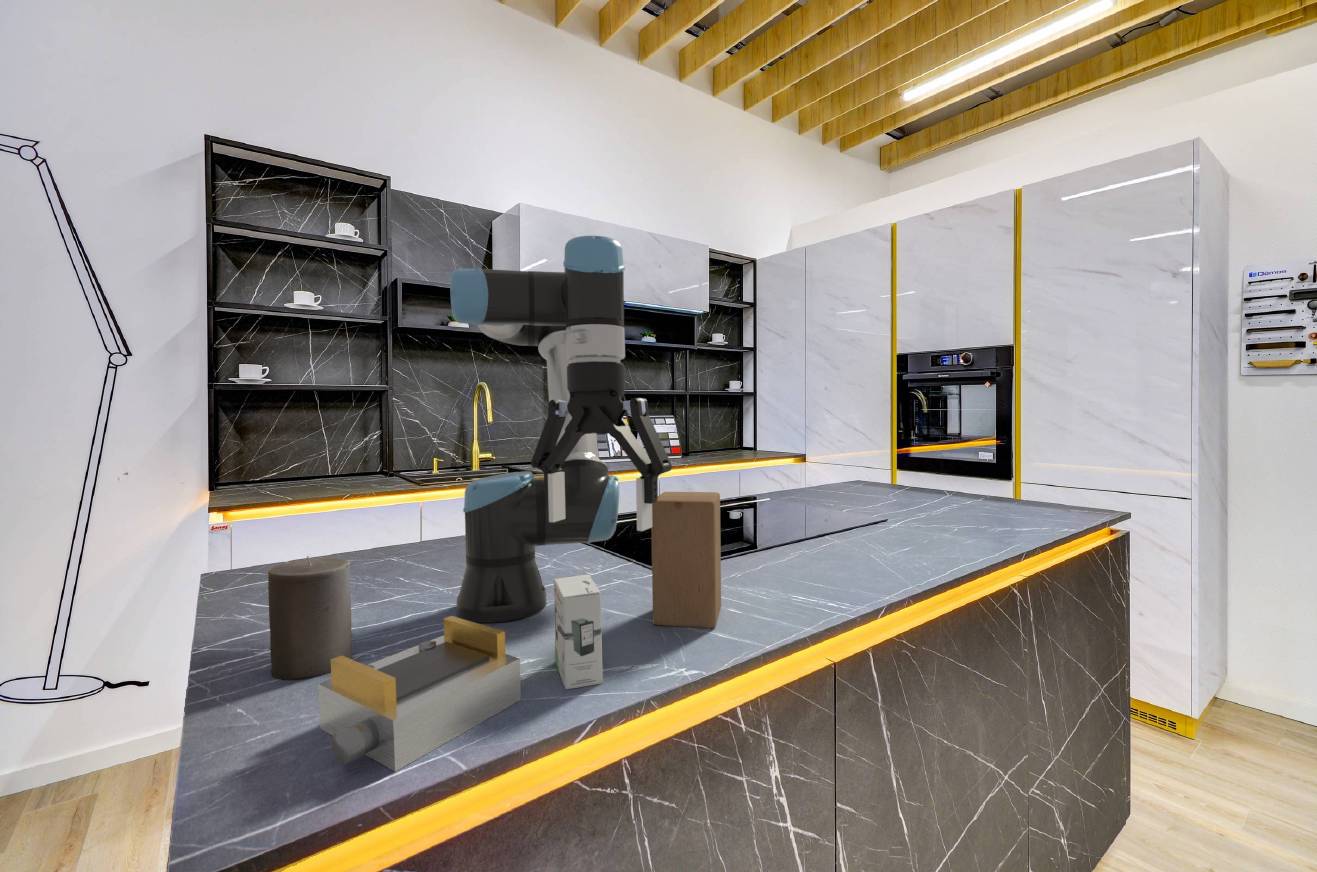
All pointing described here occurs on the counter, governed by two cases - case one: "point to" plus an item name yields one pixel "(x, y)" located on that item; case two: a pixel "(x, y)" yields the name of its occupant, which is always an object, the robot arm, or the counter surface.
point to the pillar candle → (309, 616)
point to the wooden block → (686, 559)
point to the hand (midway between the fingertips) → (599, 524)
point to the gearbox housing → (418, 695)
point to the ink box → (578, 631)
